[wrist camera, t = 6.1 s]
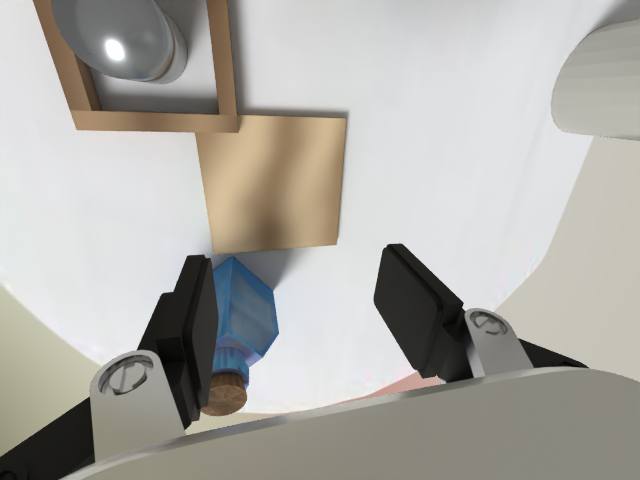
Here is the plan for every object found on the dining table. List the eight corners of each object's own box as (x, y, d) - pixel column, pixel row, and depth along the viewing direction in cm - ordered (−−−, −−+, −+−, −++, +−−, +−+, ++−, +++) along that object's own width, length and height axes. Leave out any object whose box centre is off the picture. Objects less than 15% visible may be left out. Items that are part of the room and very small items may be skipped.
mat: (344, 118, 23) (346, 118, 23) (334, 242, 29) (336, 244, 28) (193, 113, 21) (192, 113, 20) (214, 251, 26) (213, 254, 26)
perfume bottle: (185, 291, 27) (148, 409, 17) (232, 255, 27) (224, 354, 16) (229, 323, 30) (221, 439, 20) (273, 291, 30) (287, 393, 20)
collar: (223, -47, 17) (221, -58, 16) (238, 131, 22) (238, 133, 21) (21, -79, 15) (0, -96, 13) (87, 127, 20) (76, 130, 18)
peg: (180, 8, 18) (151, -32, 12) (192, 85, 20) (171, 81, 14) (103, 0, 17) (32, -48, 11) (123, 82, 19) (72, 76, 13)
